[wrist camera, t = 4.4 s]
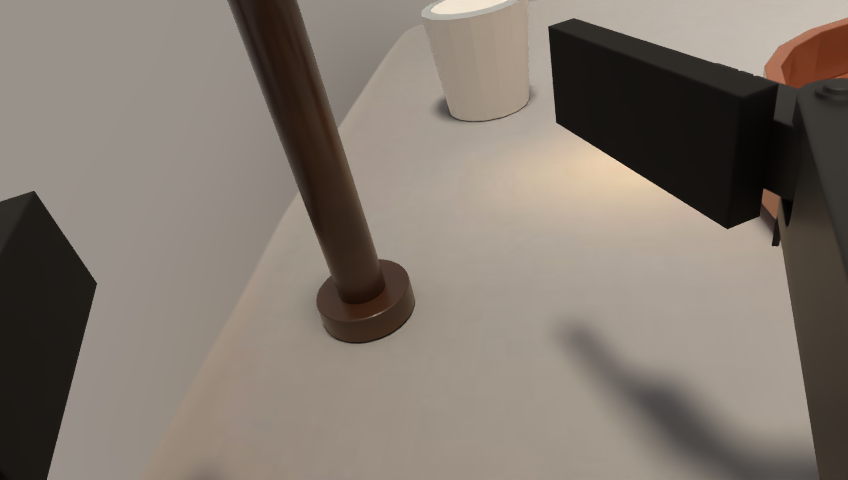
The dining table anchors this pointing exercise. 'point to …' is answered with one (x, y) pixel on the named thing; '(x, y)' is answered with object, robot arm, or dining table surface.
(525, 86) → the white cup
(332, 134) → the stick
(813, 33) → the bowl
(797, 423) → the dining table surface
